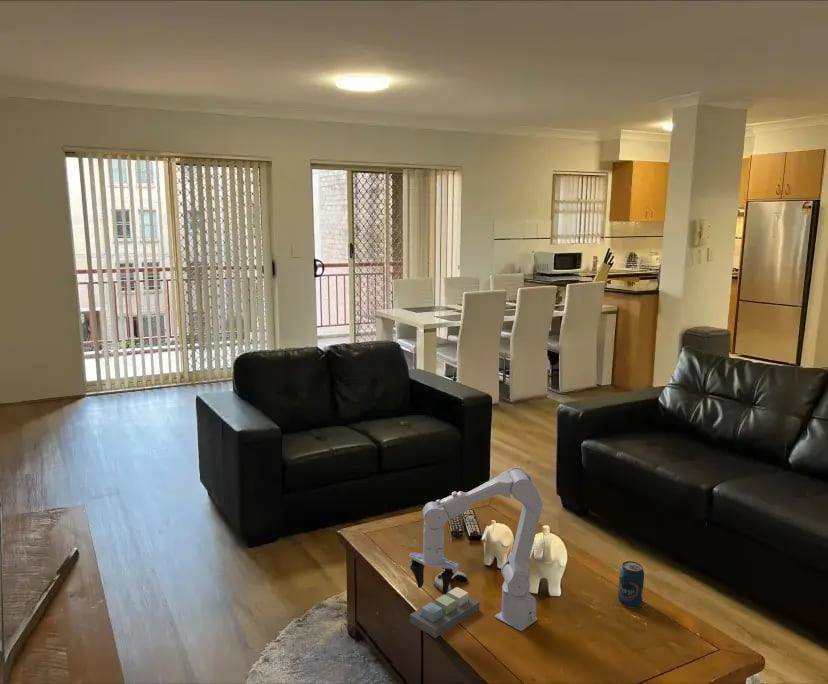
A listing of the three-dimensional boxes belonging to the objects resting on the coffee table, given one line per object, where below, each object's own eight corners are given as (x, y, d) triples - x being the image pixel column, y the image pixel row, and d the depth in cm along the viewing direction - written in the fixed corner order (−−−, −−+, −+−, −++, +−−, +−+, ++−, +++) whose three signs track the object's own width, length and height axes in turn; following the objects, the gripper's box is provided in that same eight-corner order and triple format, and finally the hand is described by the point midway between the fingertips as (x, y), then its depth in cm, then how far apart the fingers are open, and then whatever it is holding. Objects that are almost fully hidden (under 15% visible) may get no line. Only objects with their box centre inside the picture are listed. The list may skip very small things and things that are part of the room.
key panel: (479, 610, 198) (479, 602, 197) (435, 638, 184) (435, 629, 184) (453, 596, 204) (453, 588, 204) (409, 622, 191) (409, 614, 191)
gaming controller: (450, 594, 204) (437, 574, 206) (438, 602, 207) (425, 582, 209) (470, 579, 213) (458, 559, 215) (458, 587, 216) (446, 568, 218)
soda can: (615, 605, 200) (618, 568, 198) (620, 594, 206) (622, 558, 204) (639, 611, 197) (642, 574, 195) (643, 600, 203) (646, 563, 201)
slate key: (442, 619, 190) (442, 608, 189) (432, 625, 187) (432, 614, 187) (431, 613, 193) (431, 601, 192) (421, 618, 190) (421, 607, 190)
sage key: (455, 611, 194) (455, 600, 193) (446, 617, 191) (446, 605, 190) (444, 605, 197) (444, 594, 196) (434, 610, 194) (435, 599, 194)
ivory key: (468, 603, 198) (468, 592, 197) (459, 609, 195) (459, 598, 194) (456, 597, 201) (456, 586, 200) (447, 602, 198) (447, 592, 197)
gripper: (462, 544, 188) (461, 588, 191) (416, 533, 194) (415, 576, 197) (453, 555, 182) (452, 601, 184) (405, 544, 188) (405, 588, 190)
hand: (432, 589), depth 190 cm, fingers open, 7 cm apart
